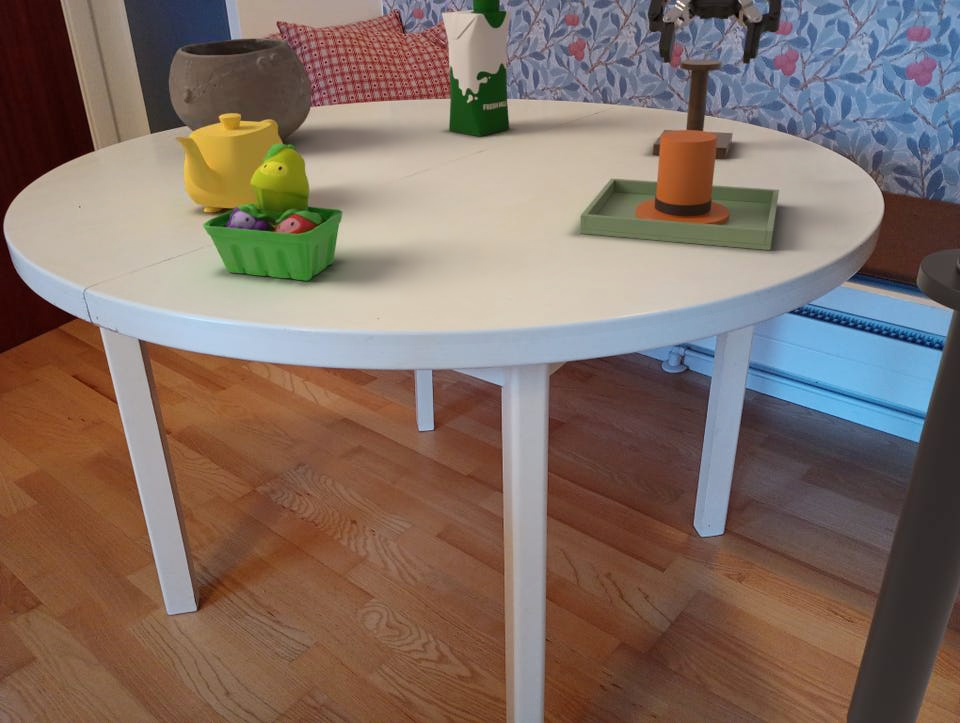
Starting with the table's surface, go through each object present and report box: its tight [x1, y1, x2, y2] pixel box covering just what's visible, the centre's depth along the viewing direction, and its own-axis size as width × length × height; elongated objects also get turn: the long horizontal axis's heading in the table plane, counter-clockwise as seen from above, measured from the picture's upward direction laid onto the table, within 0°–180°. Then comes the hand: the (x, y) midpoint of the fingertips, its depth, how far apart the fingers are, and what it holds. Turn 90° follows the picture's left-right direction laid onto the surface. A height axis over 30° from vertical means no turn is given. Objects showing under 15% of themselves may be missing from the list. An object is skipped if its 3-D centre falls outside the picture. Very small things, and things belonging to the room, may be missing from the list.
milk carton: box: [441, 0, 512, 137], centre depth 130 cm, size 9×9×20 cm
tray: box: [579, 178, 780, 251], centre depth 90 cm, size 19×15×2 cm
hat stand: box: [652, 58, 733, 160], centre depth 117 cm, size 10×10×12 cm
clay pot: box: [168, 38, 312, 141], centre depth 126 cm, size 21×21×15 cm
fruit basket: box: [202, 143, 343, 281], centre depth 78 cm, size 11×9×11 cm
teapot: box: [174, 113, 284, 213], centre depth 96 cm, size 18×11×11 cm, turn 159°
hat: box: [636, 129, 730, 225], centre depth 88 cm, size 10×10×9 cm
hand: (705, 58), depth 90 cm, fingers open, 8 cm apart
